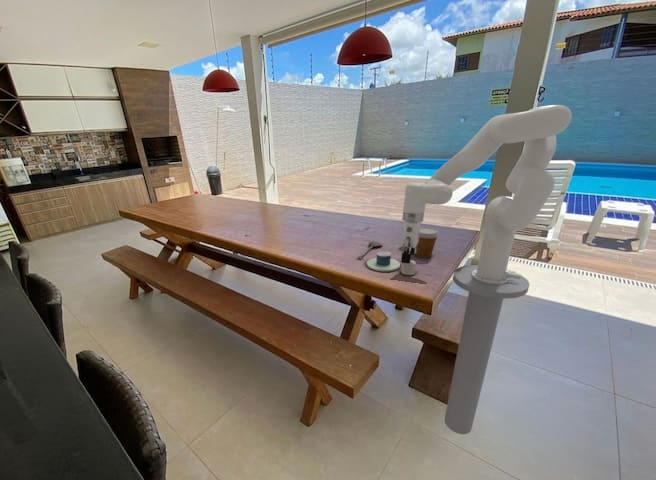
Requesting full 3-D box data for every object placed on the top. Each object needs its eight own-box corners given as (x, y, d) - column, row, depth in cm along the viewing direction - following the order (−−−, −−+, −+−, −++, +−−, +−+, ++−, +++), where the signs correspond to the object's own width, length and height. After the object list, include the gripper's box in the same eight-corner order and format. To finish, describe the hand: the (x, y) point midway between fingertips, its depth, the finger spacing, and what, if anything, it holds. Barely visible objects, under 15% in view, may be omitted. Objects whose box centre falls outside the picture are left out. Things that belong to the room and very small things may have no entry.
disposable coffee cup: (426, 261, 134) (430, 235, 128) (408, 254, 141) (411, 230, 136) (439, 256, 138) (443, 230, 133) (421, 249, 145) (424, 225, 140)
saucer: (403, 261, 135) (403, 259, 134) (396, 273, 124) (396, 271, 123) (371, 257, 141) (371, 255, 141) (362, 268, 130) (362, 266, 130)
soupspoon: (384, 246, 154) (371, 244, 157) (384, 240, 152) (372, 238, 156) (366, 260, 137) (352, 258, 141) (366, 253, 136) (352, 251, 140)
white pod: (415, 270, 125) (416, 261, 123) (413, 275, 121) (414, 265, 119) (402, 269, 127) (403, 259, 126) (399, 273, 123) (400, 263, 122)
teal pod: (391, 261, 133) (392, 252, 131) (388, 266, 129) (389, 256, 127) (378, 259, 136) (378, 250, 134) (374, 264, 131) (375, 255, 129)
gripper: (419, 223, 106) (413, 268, 113) (426, 212, 120) (421, 252, 127) (397, 221, 110) (393, 264, 117) (407, 210, 124) (402, 250, 131)
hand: (407, 258), depth 122 cm, fingers open, 9 cm apart
